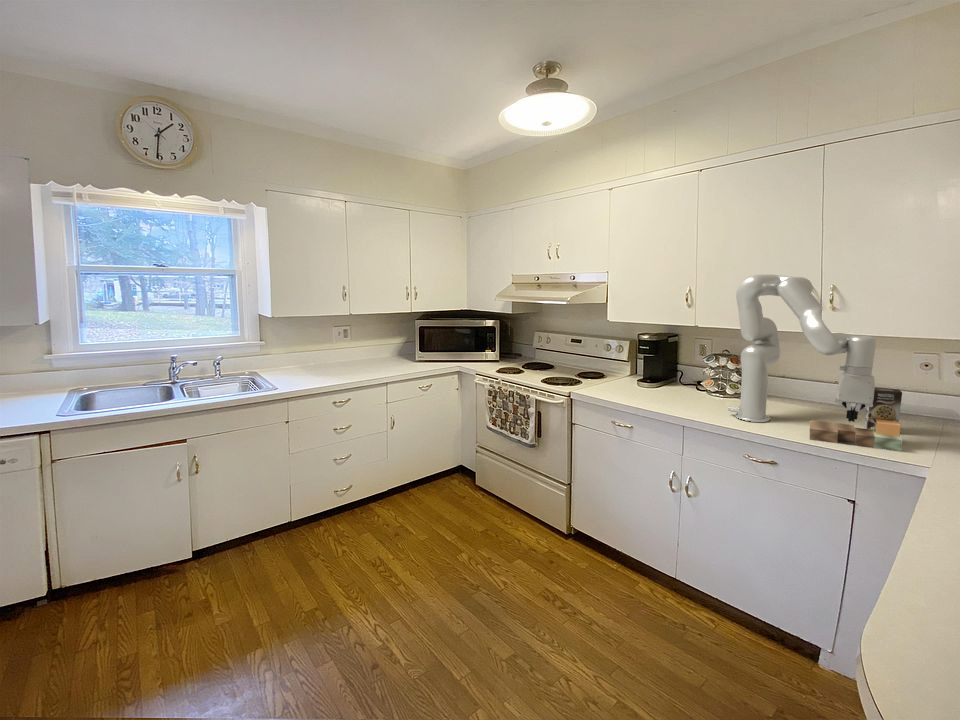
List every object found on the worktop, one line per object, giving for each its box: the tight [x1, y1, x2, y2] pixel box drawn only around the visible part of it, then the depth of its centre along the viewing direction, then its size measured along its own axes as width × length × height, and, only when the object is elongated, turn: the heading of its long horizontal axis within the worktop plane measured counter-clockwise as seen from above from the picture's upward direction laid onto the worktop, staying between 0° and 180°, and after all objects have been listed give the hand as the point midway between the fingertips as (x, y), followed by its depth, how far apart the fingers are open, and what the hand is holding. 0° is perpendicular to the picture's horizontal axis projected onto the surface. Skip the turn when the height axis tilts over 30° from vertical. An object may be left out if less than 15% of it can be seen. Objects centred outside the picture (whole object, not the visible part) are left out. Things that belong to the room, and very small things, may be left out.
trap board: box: [809, 419, 903, 452], centre depth 168 cm, size 25×13×4 cm, turn 55°
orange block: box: [875, 419, 902, 437], centre depth 162 cm, size 6×5×4 cm
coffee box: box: [864, 387, 903, 429], centre depth 176 cm, size 9×6×16 cm
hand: (851, 420), depth 167 cm, fingers closed
